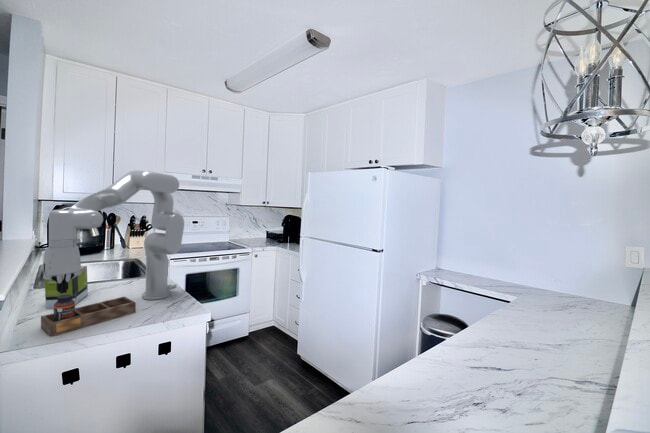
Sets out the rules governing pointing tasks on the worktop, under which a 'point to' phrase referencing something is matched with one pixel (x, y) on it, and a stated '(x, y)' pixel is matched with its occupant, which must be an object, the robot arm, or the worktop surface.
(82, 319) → the wooden compartment tray
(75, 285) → the tea box
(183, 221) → the robot arm
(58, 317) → the supplement bottle
